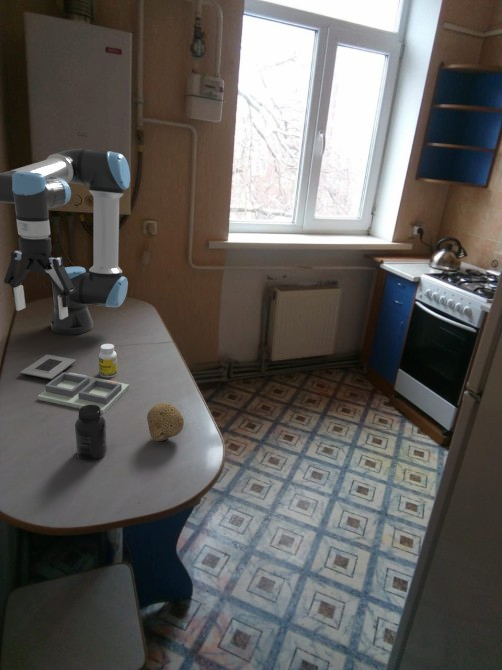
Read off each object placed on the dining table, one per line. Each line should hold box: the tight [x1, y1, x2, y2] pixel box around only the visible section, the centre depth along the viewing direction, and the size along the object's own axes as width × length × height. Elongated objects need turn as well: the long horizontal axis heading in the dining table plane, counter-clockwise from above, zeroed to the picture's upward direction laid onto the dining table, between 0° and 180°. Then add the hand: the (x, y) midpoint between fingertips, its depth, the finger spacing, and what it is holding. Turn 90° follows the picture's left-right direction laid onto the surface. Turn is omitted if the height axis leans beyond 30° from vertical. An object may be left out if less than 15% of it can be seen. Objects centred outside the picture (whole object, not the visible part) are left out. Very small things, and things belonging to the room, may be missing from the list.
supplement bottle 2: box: [98, 343, 118, 378], centre depth 141 cm, size 5×5×10 cm
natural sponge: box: [146, 402, 184, 442], centre depth 113 cm, size 9×9×10 cm
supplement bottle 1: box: [74, 405, 108, 462], centre depth 106 cm, size 7×7×12 cm
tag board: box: [37, 371, 130, 415], centre depth 131 cm, size 15×20×3 cm
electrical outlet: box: [19, 354, 77, 381], centre depth 142 cm, size 13×10×2 cm
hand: (42, 313), depth 124 cm, fingers open, 13 cm apart
